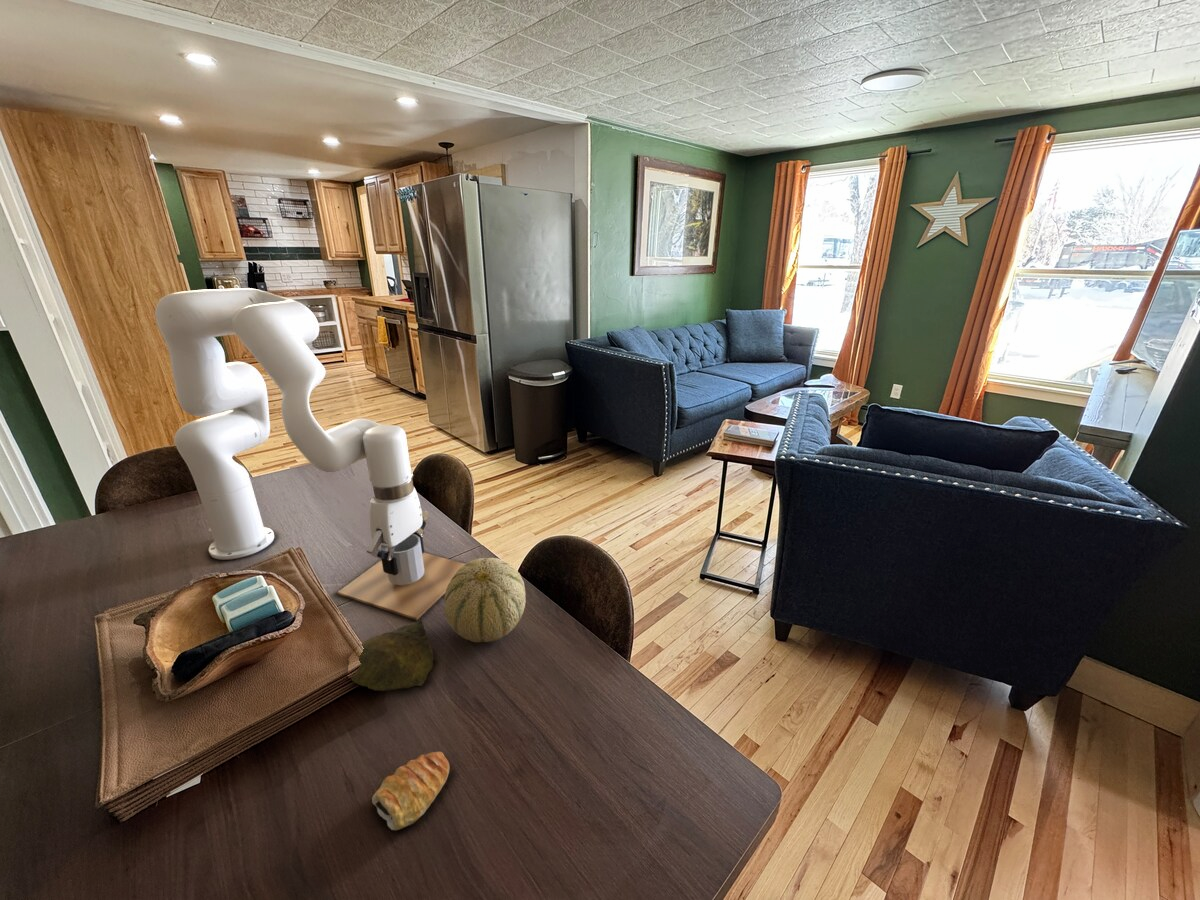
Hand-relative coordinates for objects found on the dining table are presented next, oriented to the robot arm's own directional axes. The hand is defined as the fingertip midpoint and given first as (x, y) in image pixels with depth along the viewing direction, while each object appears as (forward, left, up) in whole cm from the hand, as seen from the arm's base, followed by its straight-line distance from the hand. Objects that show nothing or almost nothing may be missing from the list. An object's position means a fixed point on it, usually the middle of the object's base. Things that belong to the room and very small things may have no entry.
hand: (404, 561), depth 100 cm
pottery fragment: (+13, -18, -5) cm, 23 cm away
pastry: (+31, -35, -5) cm, 47 cm away
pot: (0, 0, -3) cm, 3 cm away
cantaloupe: (+24, -6, -5) cm, 25 cm away
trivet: (0, 0, -5) cm, 5 cm away
